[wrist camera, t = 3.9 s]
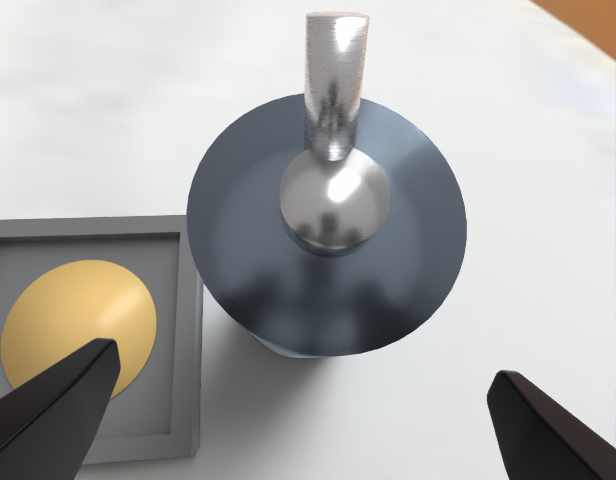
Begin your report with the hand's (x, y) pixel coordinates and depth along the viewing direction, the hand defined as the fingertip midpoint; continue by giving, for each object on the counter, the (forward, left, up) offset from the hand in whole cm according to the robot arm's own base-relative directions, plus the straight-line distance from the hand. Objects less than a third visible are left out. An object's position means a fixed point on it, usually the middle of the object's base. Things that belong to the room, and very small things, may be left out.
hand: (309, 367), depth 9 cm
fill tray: (+2, +10, -11) cm, 15 cm away
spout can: (+3, 0, -11) cm, 11 cm away
